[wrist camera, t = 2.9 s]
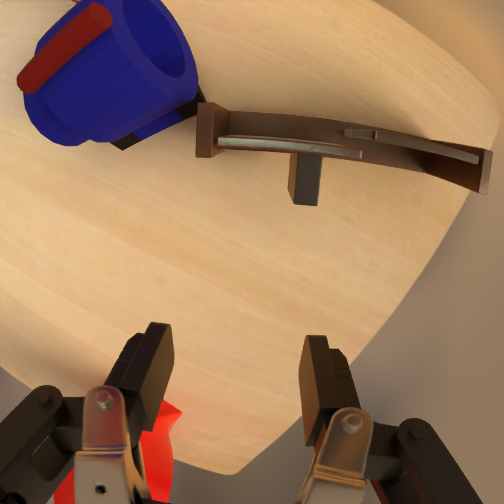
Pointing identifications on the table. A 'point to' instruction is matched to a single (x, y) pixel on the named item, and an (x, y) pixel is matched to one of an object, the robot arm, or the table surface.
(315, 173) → the panel
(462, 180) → the window frame
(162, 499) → the vase
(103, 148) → the table surface
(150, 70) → the alarm clock
